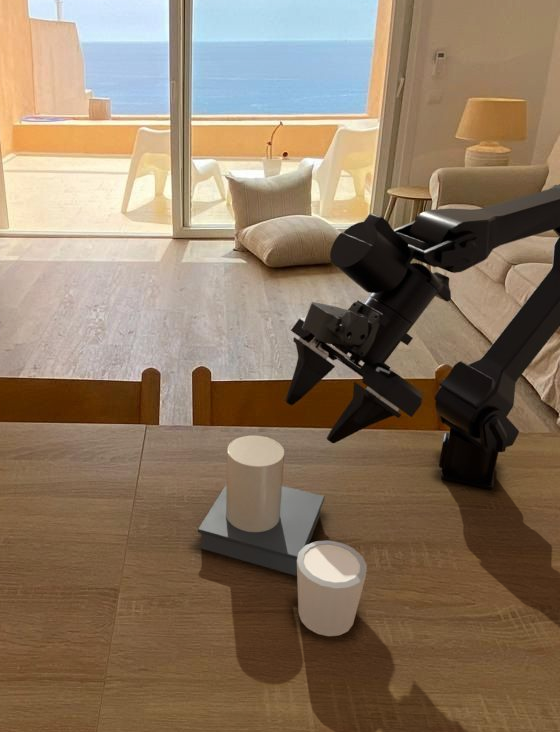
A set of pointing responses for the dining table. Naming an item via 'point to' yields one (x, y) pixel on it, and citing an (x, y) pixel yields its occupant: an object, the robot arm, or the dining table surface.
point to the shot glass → (329, 586)
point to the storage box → (265, 532)
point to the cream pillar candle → (254, 483)
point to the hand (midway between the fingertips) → (308, 421)
